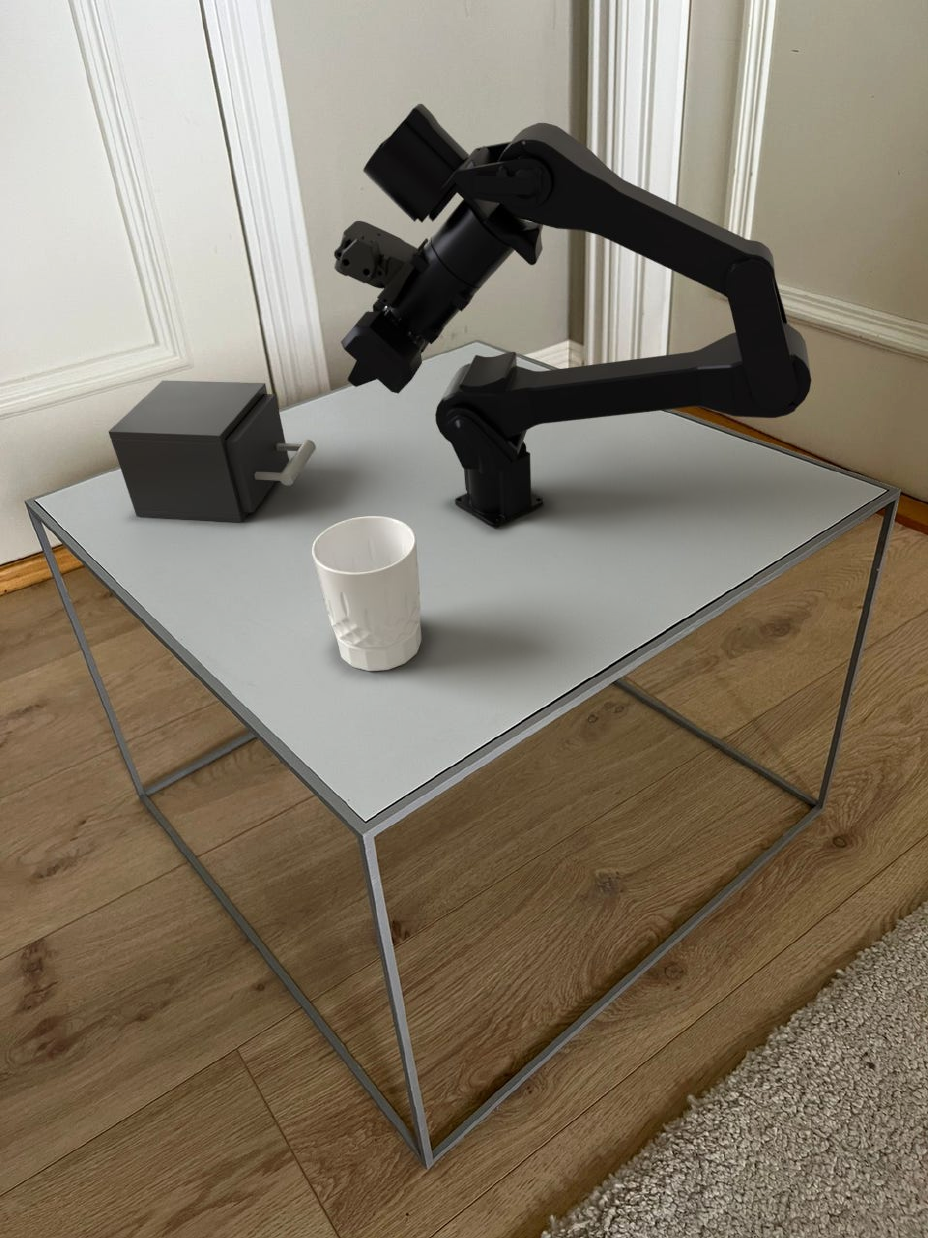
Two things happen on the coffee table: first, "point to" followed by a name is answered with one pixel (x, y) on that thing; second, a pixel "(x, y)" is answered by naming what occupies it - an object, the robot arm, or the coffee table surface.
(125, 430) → the cabinet
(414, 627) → the white cup
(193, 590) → the coffee table surface
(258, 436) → the drawer
